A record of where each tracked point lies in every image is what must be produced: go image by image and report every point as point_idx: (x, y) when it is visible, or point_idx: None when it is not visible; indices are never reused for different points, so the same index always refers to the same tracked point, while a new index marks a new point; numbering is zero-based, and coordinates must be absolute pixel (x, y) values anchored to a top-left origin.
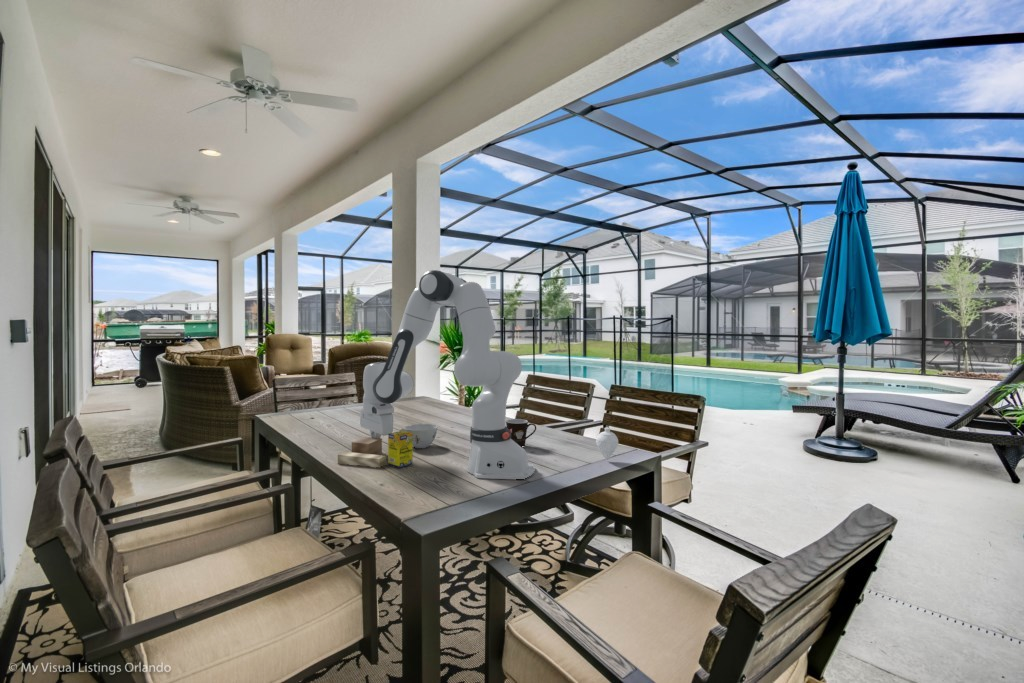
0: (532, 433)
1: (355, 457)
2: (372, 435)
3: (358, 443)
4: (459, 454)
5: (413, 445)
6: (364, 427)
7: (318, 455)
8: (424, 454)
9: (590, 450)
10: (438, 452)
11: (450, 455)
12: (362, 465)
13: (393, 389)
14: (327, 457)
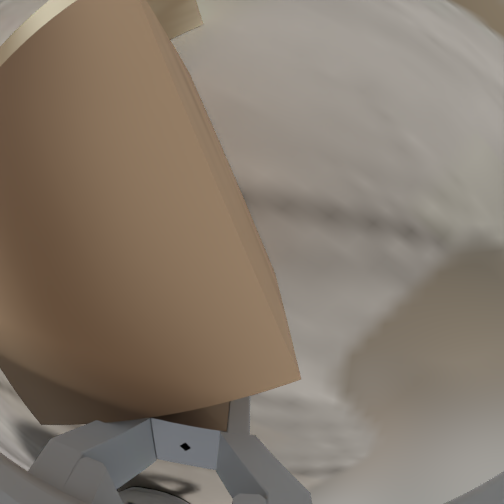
0: None
1: (14, 38)
2: (240, 469)
3: (18, 54)
4: (16, 456)
5: (142, 494)
6: (489, 491)
7: (454, 20)
8: (39, 433)
9: None
10: None
11: (11, 444)
12: None
13: None
14: (382, 3)
